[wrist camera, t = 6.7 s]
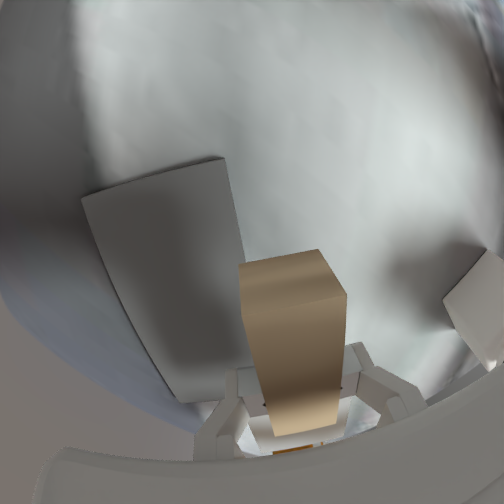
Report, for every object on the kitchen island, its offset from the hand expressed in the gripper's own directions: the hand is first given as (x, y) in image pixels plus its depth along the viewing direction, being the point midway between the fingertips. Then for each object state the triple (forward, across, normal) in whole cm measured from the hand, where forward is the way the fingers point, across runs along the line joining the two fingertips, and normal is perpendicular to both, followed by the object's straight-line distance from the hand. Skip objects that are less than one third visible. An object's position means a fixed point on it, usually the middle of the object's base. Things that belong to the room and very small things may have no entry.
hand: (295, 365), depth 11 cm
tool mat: (+8, +6, +2) cm, 10 cm away
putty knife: (+1, 0, +2) cm, 2 cm away
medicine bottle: (+8, -20, +7) cm, 23 cm away
